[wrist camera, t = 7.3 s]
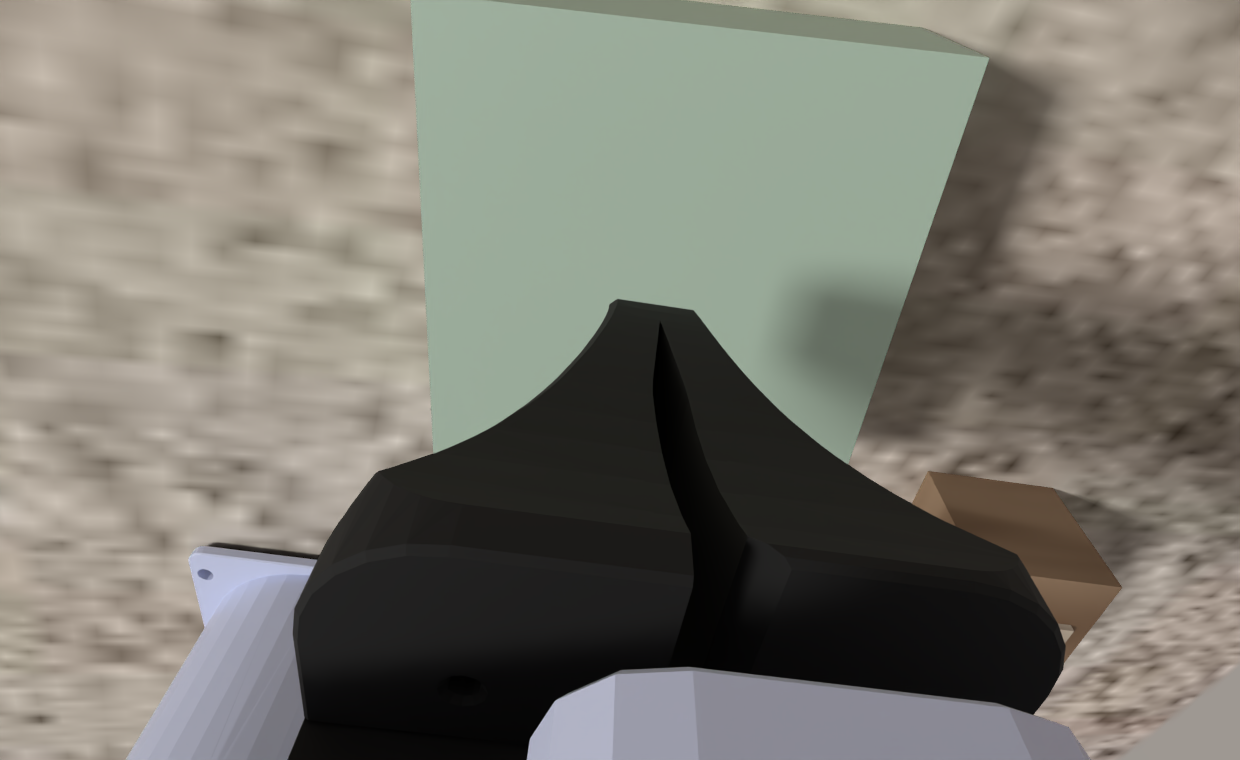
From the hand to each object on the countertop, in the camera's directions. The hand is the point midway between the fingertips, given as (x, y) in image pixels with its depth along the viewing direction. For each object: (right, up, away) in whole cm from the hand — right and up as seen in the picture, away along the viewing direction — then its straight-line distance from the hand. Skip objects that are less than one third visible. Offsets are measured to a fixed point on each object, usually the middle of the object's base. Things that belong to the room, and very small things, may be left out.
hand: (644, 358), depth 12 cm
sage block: (+1, +4, +7) cm, 8 cm away
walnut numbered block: (+11, -5, +12) cm, 17 cm away
